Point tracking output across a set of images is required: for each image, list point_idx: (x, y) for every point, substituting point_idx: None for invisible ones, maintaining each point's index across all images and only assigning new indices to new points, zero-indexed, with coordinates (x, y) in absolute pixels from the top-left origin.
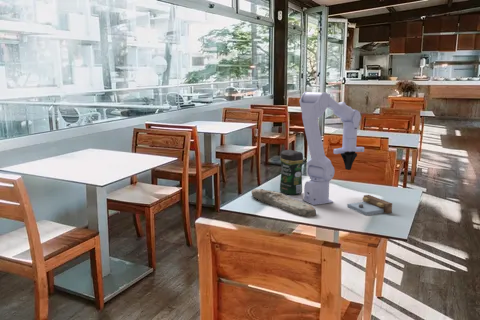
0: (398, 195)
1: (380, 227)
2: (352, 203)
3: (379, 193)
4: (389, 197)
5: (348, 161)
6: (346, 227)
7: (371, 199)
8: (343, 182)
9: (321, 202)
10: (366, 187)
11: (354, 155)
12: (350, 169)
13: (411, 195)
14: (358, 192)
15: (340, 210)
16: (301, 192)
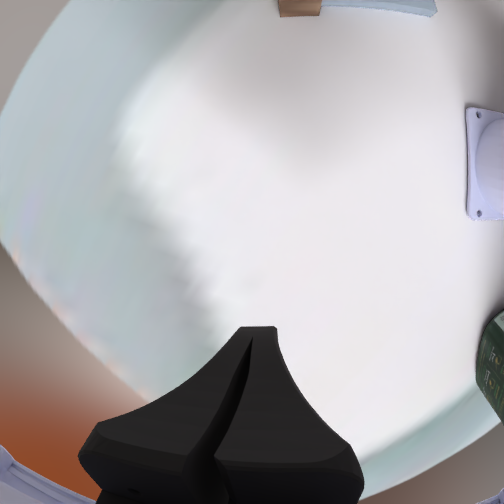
0: (45, 129)
1: None
2: (409, 2)
3: (99, 184)
4: (95, 99)
5: (293, 386)
6: None
7: None
8: None
9: None
10: (111, 308)
11: (156, 442)
12: (243, 328)
13: (10, 122)
14: (197, 240)
15: (476, 4)
16: (498, 314)
